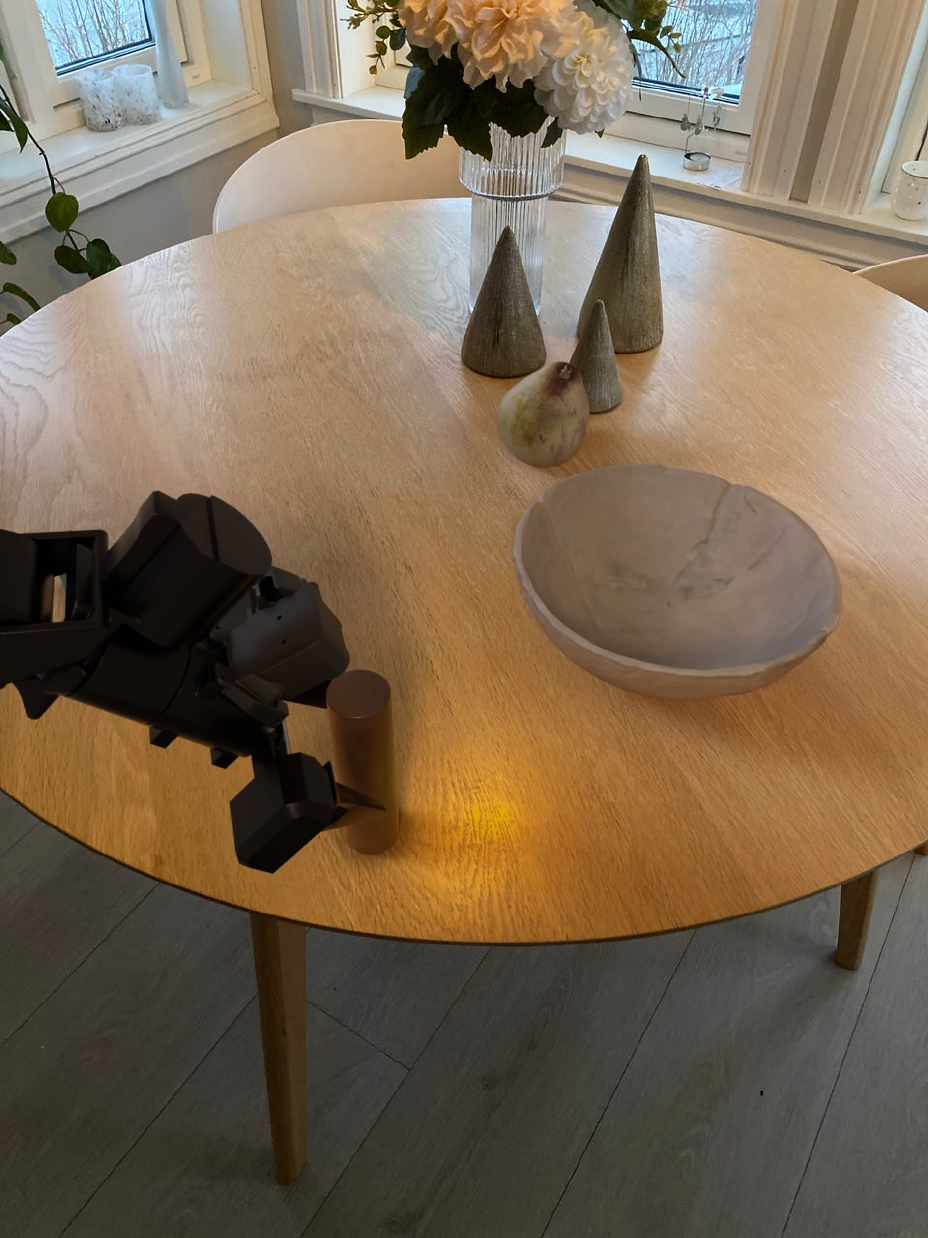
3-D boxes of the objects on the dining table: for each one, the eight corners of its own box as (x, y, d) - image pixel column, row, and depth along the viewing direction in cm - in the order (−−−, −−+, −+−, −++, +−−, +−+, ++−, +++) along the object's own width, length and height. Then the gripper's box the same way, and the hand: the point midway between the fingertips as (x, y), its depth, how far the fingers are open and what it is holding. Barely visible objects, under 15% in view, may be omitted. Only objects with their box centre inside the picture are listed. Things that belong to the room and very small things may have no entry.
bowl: (631, 510, 97) (644, 425, 90) (870, 644, 84) (908, 557, 77) (443, 636, 84) (442, 548, 77) (691, 821, 70) (718, 734, 63)
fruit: (561, 492, 99) (571, 389, 91) (479, 467, 102) (482, 365, 94) (597, 443, 106) (610, 343, 97) (520, 421, 109) (525, 322, 101)
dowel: (358, 863, 67) (341, 726, 57) (335, 821, 70) (315, 682, 60) (409, 840, 69) (401, 702, 58) (385, 799, 71) (374, 660, 61)
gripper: (269, 712, 44) (492, 800, 54) (231, 481, 57) (416, 587, 67) (134, 845, 48) (364, 905, 58) (127, 601, 61) (316, 684, 71)
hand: (367, 756), depth 63 cm, fingers open, 9 cm apart
